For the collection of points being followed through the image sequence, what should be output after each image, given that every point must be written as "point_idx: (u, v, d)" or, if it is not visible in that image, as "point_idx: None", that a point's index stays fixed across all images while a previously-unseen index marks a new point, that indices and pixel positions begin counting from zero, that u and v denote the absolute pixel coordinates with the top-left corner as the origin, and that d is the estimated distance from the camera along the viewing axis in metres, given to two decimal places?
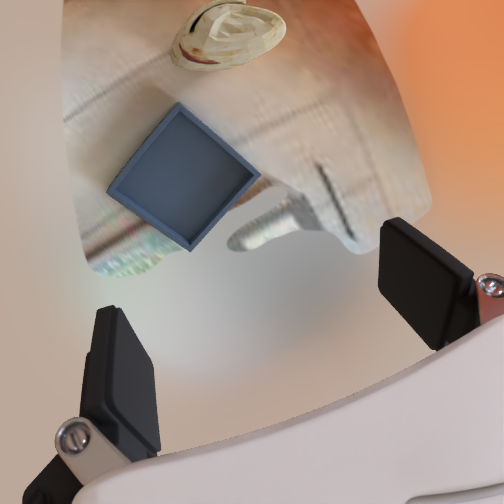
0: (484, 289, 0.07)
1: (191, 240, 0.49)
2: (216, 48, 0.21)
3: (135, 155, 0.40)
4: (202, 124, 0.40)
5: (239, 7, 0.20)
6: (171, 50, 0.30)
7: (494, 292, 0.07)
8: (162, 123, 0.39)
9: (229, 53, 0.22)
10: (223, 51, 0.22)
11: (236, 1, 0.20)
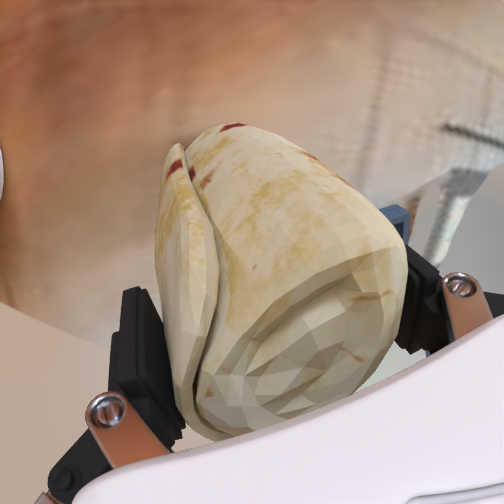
0: (451, 290, 0.07)
1: None
2: None
3: None
4: None
5: (240, 347, 0.07)
6: None
7: (461, 292, 0.07)
8: None
9: None
10: None
11: (207, 329, 0.07)
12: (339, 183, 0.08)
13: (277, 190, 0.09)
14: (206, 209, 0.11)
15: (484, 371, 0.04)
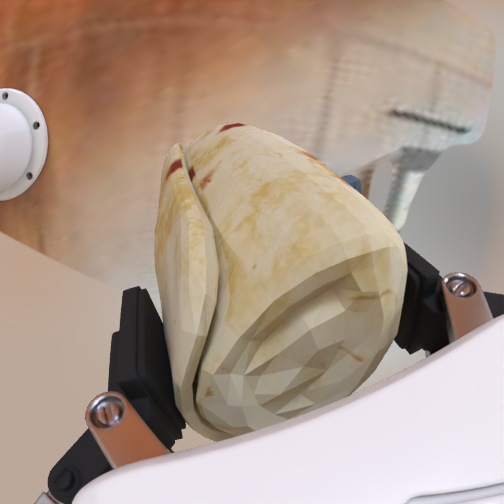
0: (451, 290, 0.07)
1: None
2: None
3: None
4: None
5: (240, 346, 0.07)
6: None
7: (461, 292, 0.07)
8: None
9: None
10: None
11: (207, 329, 0.07)
12: (339, 183, 0.08)
13: (277, 190, 0.09)
14: (206, 209, 0.11)
15: (484, 371, 0.04)
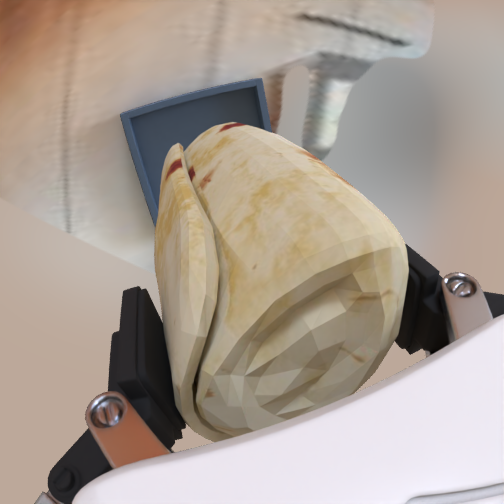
0: (451, 290, 0.07)
1: None
2: None
3: (144, 189, 0.34)
4: (160, 103, 0.30)
5: (240, 347, 0.07)
6: None
7: (461, 292, 0.07)
8: (130, 143, 0.32)
9: None
10: None
11: (207, 329, 0.07)
12: (339, 183, 0.08)
13: (277, 189, 0.09)
14: (206, 209, 0.11)
15: (484, 371, 0.04)
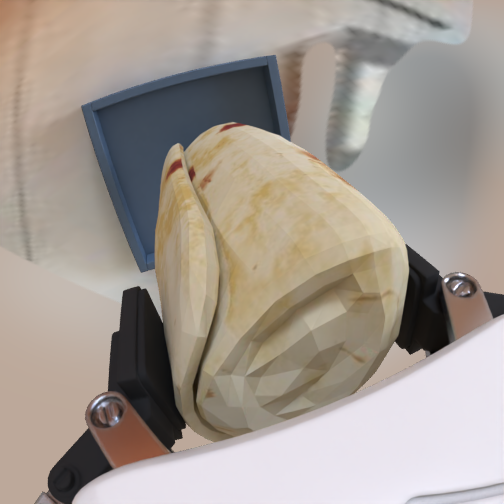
0: (451, 290, 0.07)
1: None
2: None
3: (116, 207, 0.25)
4: (135, 89, 0.21)
5: (240, 347, 0.07)
6: None
7: (461, 292, 0.07)
8: (95, 145, 0.22)
9: None
10: None
11: (207, 330, 0.07)
12: (340, 183, 0.08)
13: (278, 189, 0.09)
14: (206, 209, 0.11)
15: (484, 371, 0.04)
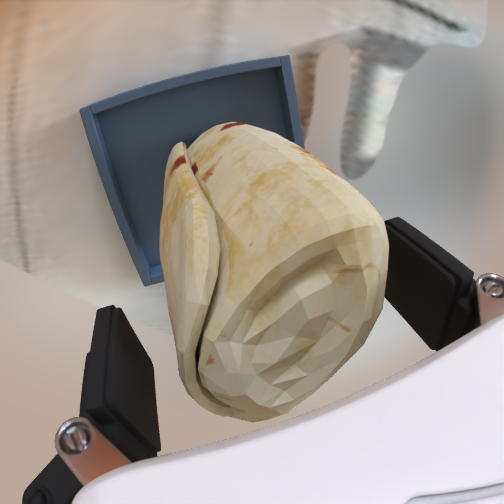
0: (484, 289, 0.07)
1: None
2: (304, 396, 0.10)
3: (118, 218, 0.23)
4: (137, 91, 0.19)
5: (238, 315, 0.08)
6: None
7: (494, 292, 0.07)
8: (95, 151, 0.21)
9: (332, 374, 0.10)
10: None
11: (209, 299, 0.08)
12: (327, 172, 0.09)
13: (272, 178, 0.10)
14: (208, 199, 0.12)
15: (484, 371, 0.04)
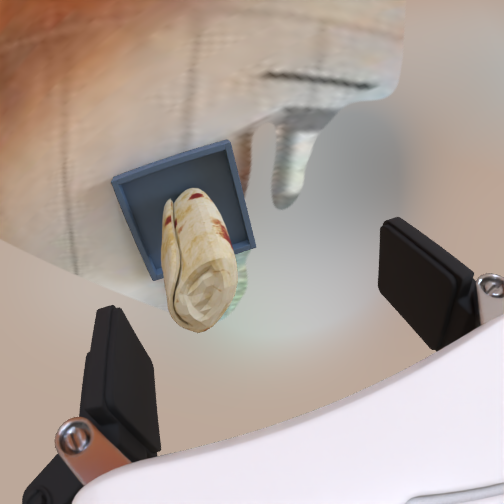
0: (484, 289, 0.07)
1: (247, 238, 0.47)
2: (214, 318, 0.28)
3: (136, 241, 0.42)
4: (143, 171, 0.38)
5: (184, 285, 0.26)
6: None
7: (494, 292, 0.07)
8: (121, 205, 0.39)
9: (224, 310, 0.28)
10: (219, 314, 0.28)
11: (176, 281, 0.26)
12: (216, 237, 0.27)
13: (198, 239, 0.28)
14: (179, 243, 0.30)
15: (484, 371, 0.04)
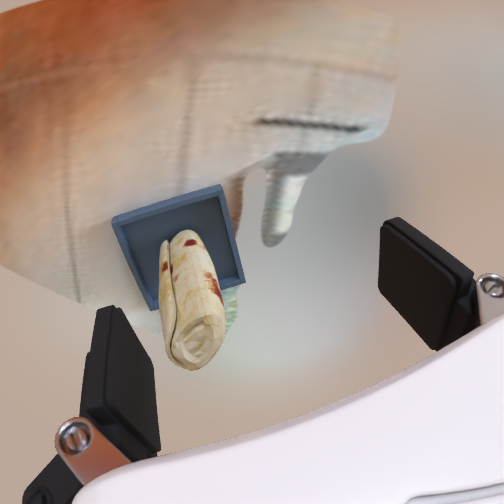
0: (484, 289, 0.07)
1: (237, 274, 0.50)
2: (205, 360, 0.32)
3: (135, 277, 0.45)
4: (141, 214, 0.41)
5: (180, 335, 0.30)
6: None
7: (494, 293, 0.07)
8: (121, 244, 0.42)
9: (214, 354, 0.32)
10: (210, 357, 0.32)
11: (173, 330, 0.30)
12: (207, 293, 0.31)
13: (191, 294, 0.31)
14: (175, 293, 0.33)
15: (484, 371, 0.04)
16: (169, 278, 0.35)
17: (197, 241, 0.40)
